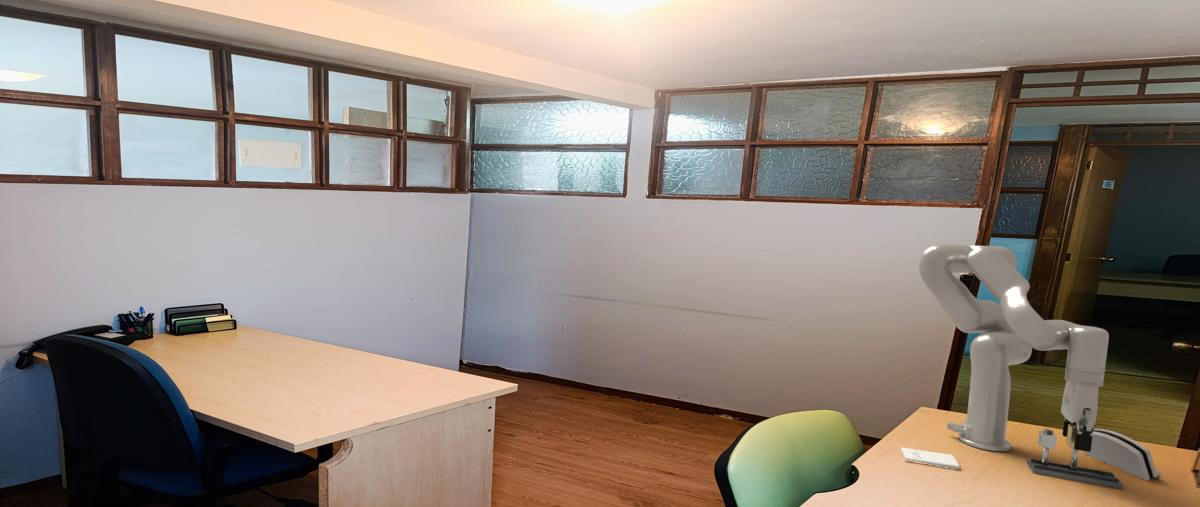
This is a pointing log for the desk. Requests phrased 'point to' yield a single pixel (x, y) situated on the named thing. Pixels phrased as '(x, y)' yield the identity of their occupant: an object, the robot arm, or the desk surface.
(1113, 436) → the white black arched block
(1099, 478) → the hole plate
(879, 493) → the desk surface
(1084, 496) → the desk surface
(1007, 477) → the desk surface
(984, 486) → the desk surface
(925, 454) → the external hard drive
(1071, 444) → the tan square-headed peg
